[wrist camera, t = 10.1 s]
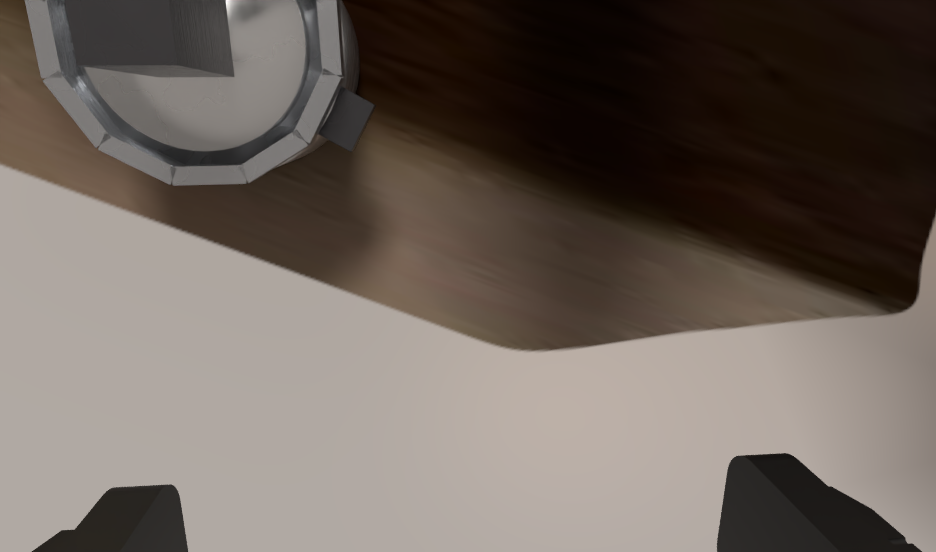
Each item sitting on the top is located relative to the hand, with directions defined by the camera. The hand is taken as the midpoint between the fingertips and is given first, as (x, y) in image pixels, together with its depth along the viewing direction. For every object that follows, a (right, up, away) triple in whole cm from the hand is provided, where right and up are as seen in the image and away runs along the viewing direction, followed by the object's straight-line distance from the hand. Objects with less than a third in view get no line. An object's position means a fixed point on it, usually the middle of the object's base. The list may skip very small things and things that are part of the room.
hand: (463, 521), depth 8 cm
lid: (-11, +14, +16) cm, 24 cm away
